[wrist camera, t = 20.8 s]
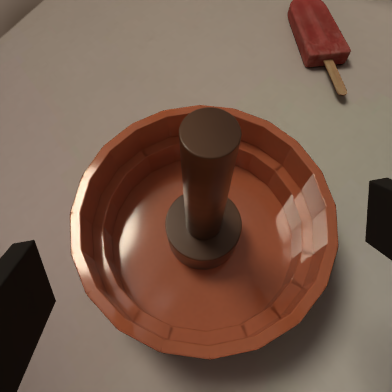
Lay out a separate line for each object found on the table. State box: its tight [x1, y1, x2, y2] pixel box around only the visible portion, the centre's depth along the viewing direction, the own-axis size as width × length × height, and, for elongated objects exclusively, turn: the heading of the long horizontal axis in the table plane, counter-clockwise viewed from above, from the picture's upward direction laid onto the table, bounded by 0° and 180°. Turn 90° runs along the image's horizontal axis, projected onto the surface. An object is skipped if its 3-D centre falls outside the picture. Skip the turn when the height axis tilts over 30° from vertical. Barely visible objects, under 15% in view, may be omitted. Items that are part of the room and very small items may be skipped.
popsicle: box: [288, 0, 351, 96], centre depth 35 cm, size 4×2×15 cm
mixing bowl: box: [70, 105, 338, 360], centre depth 24 cm, size 17×17×6 cm
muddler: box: [165, 107, 242, 270], centre depth 19 cm, size 6×6×14 cm
